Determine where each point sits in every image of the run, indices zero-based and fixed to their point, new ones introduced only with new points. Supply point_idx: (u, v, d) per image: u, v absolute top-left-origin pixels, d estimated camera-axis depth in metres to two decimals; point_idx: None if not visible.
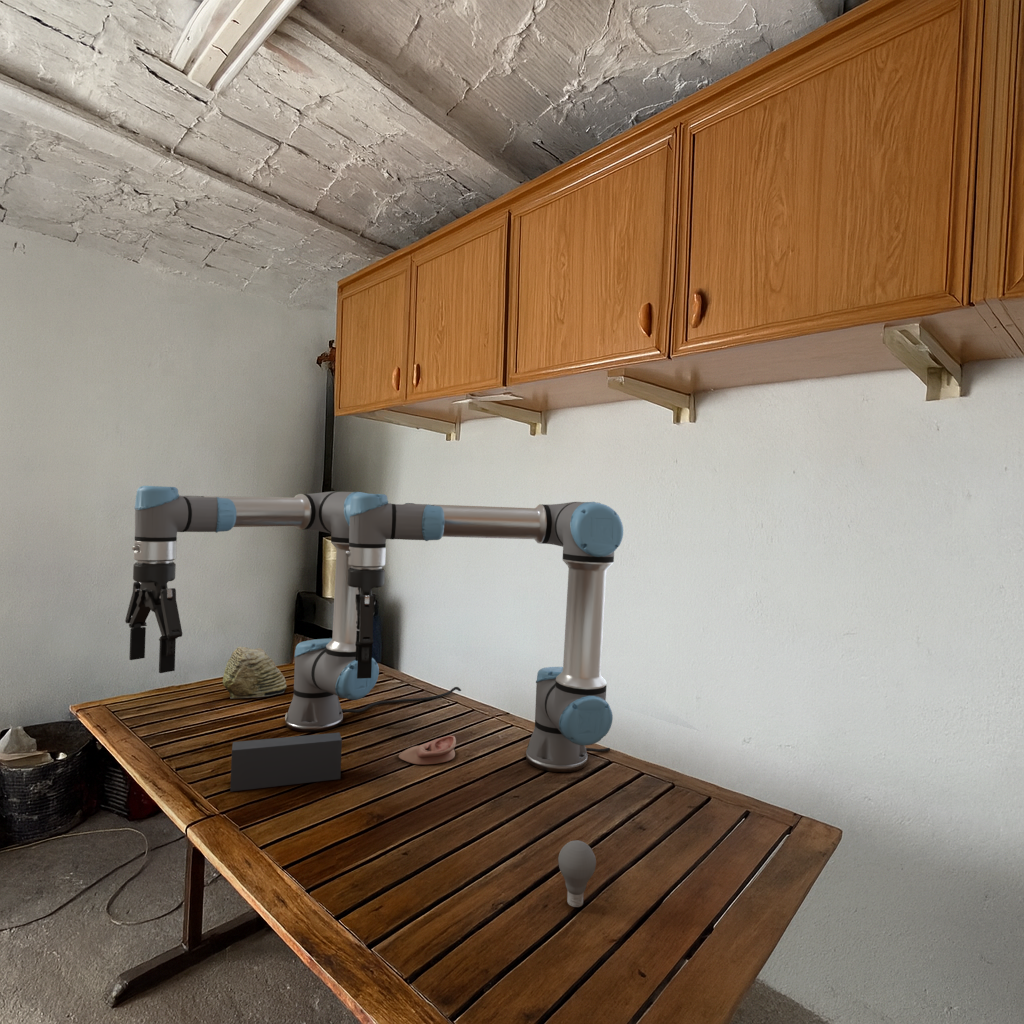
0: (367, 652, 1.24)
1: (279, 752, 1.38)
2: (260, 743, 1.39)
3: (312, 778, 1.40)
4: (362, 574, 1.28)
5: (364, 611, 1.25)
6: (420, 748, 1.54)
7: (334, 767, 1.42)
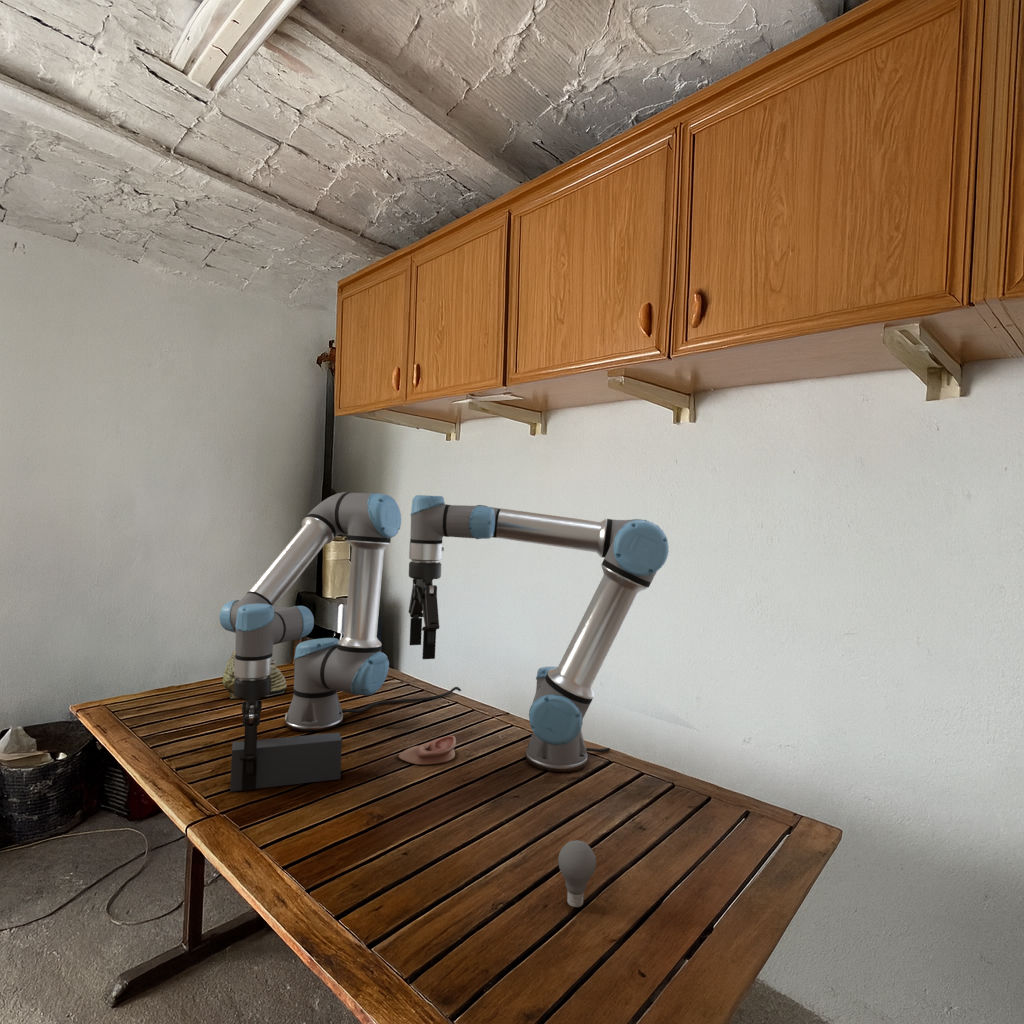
0: None
1: (279, 752, 1.38)
2: (260, 743, 1.39)
3: (312, 778, 1.40)
4: None
5: None
6: (420, 748, 1.54)
7: (334, 767, 1.42)
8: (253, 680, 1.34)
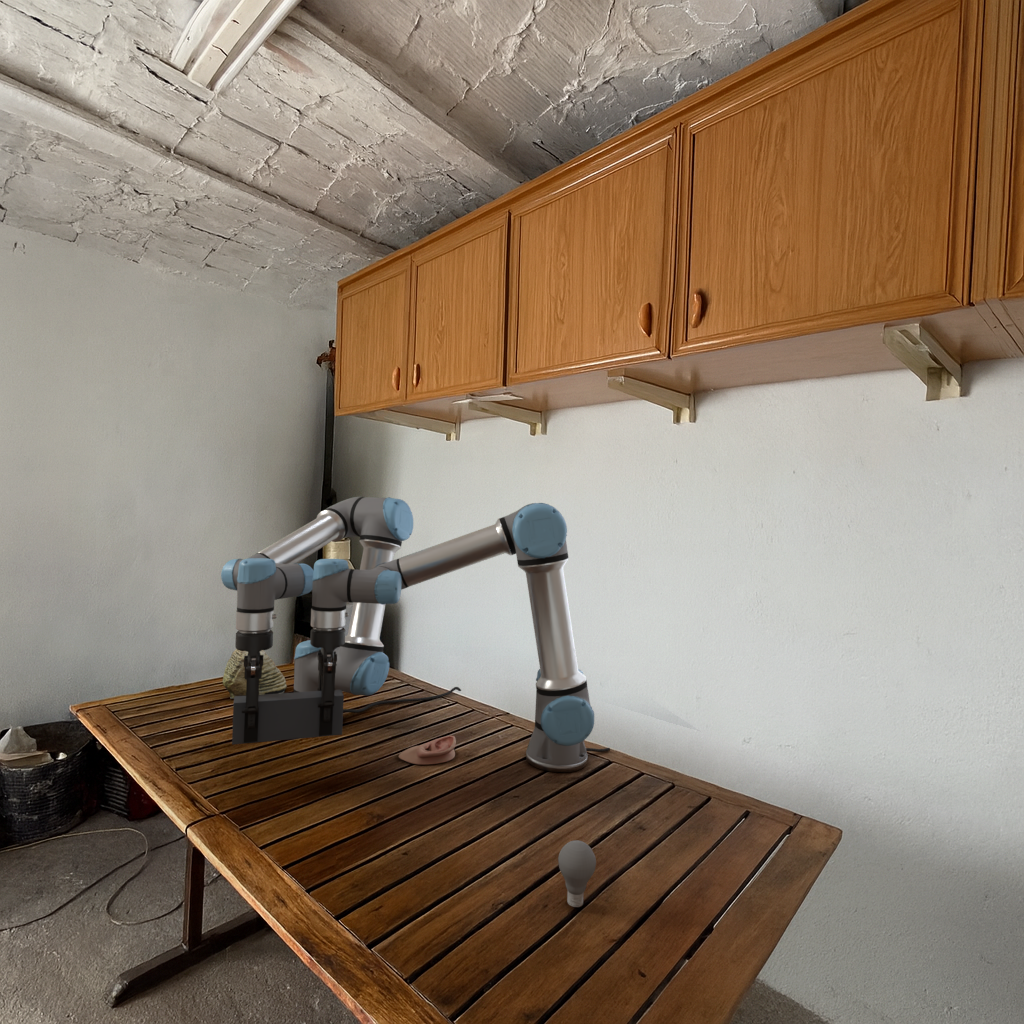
0: None
1: (280, 706, 1.37)
2: (262, 697, 1.38)
3: (314, 733, 1.40)
4: None
5: None
6: (420, 748, 1.54)
7: (336, 723, 1.42)
8: (255, 633, 1.34)
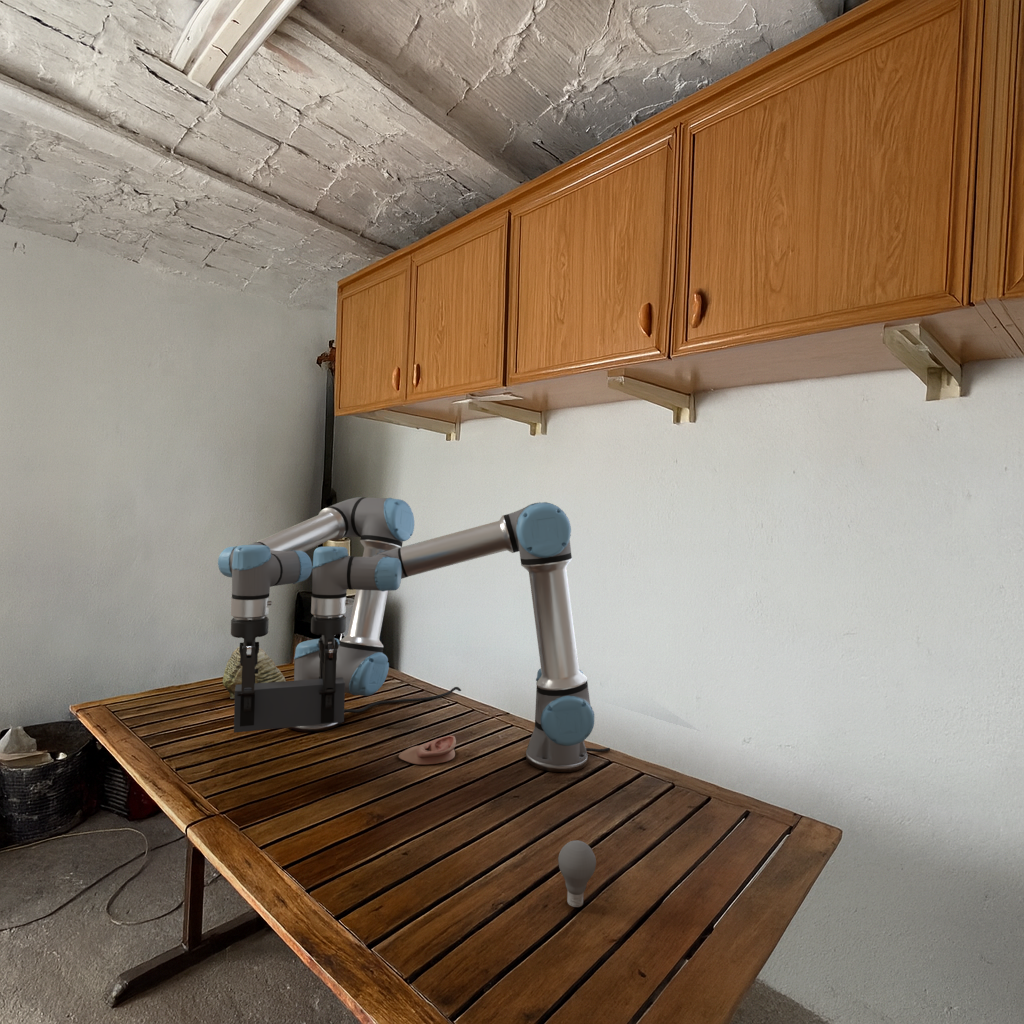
0: None
1: (282, 693, 1.37)
2: (263, 685, 1.38)
3: (315, 721, 1.40)
4: None
5: None
6: (420, 748, 1.54)
7: (337, 710, 1.42)
8: (250, 619, 1.34)
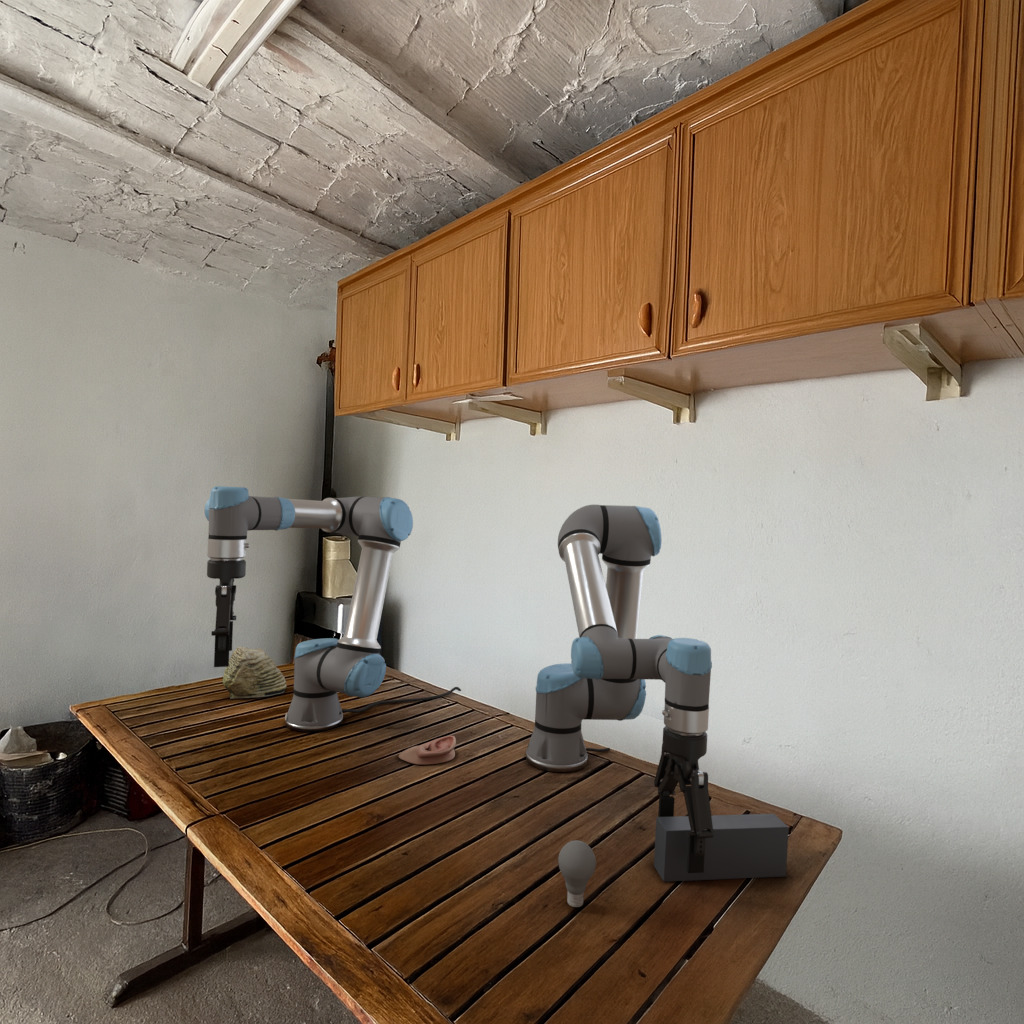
0: (703, 844, 1.04)
1: None
2: (752, 821, 1.13)
3: None
4: (688, 742, 1.07)
5: (700, 794, 1.04)
6: (420, 748, 1.54)
7: None
8: (226, 560, 1.32)
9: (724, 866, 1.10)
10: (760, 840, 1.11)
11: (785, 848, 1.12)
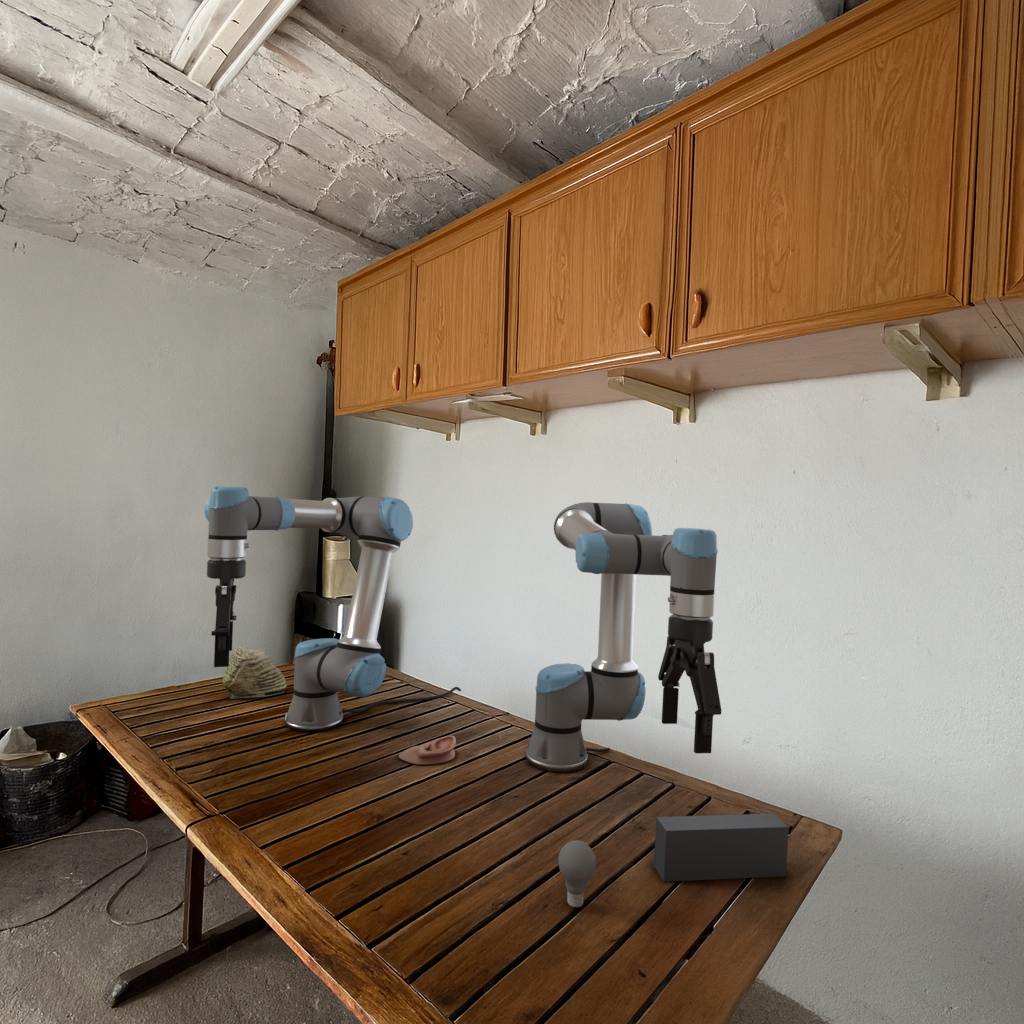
0: (710, 723, 1.03)
1: None
2: (752, 821, 1.13)
3: None
4: (694, 625, 1.07)
5: (706, 673, 1.03)
6: (420, 748, 1.54)
7: None
8: (226, 560, 1.32)
9: (724, 866, 1.10)
10: (760, 840, 1.11)
11: (785, 848, 1.12)
